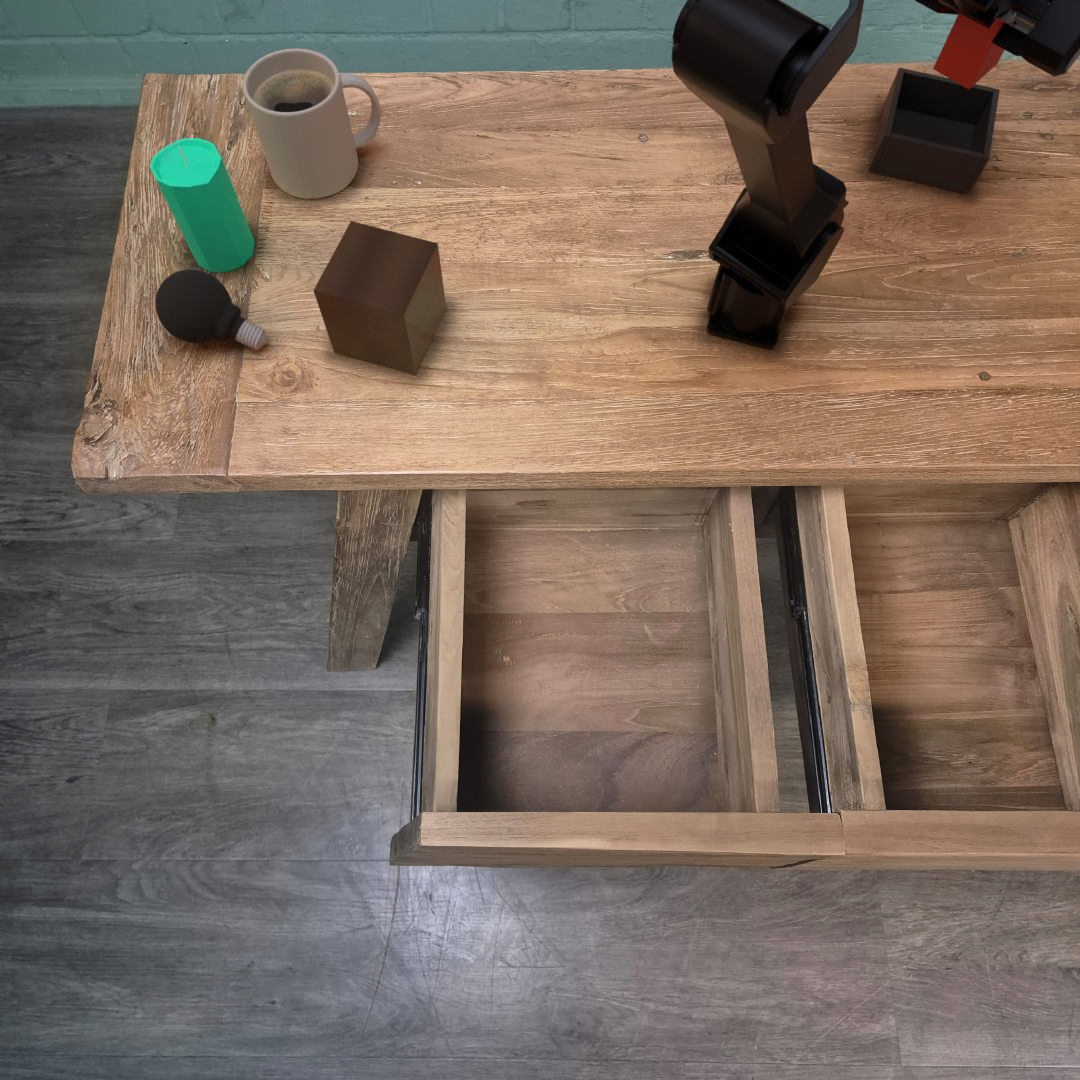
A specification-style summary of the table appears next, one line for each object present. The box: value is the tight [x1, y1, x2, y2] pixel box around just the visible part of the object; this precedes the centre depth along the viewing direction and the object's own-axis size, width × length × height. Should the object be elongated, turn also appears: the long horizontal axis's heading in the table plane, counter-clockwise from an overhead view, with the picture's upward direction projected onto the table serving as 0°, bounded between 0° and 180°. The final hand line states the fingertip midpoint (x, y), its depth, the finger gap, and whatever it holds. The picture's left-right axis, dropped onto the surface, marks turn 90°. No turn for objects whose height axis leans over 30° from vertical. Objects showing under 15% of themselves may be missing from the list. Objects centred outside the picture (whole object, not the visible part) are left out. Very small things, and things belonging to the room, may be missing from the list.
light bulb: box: [154, 268, 267, 351], centre depth 79 cm, size 6×6×10 cm
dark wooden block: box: [313, 220, 447, 376], centre depth 78 cm, size 8×8×8 cm
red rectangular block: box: [932, 7, 1012, 89], centre depth 78 cm, size 5×4×12 cm
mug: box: [242, 48, 382, 200], centre depth 86 cm, size 11×10×10 cm
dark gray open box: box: [868, 67, 1001, 196], centre depth 90 cm, size 10×10×4 cm
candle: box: [149, 137, 256, 273], centre depth 80 cm, size 6×6×12 cm
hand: (992, 19), depth 80 cm, fingers closed on red rectangular block, 4 cm apart
